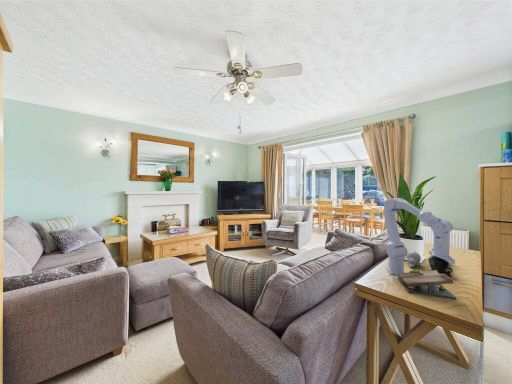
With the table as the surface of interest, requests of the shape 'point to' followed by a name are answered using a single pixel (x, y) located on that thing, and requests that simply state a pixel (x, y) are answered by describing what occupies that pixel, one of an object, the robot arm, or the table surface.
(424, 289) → the leveling stand
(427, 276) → the instrument plate
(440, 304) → the table surface
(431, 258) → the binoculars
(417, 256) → the round bodied animal figurine
